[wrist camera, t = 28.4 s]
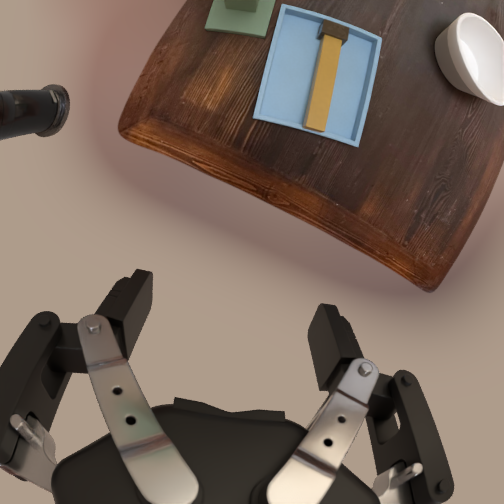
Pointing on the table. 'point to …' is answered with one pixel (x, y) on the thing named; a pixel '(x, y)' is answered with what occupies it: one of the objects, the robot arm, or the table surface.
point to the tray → (302, 70)
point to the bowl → (473, 57)
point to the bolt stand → (240, 17)
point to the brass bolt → (324, 74)
